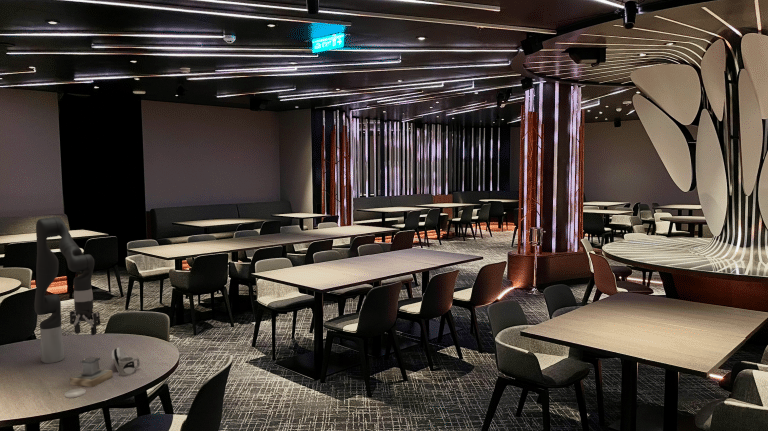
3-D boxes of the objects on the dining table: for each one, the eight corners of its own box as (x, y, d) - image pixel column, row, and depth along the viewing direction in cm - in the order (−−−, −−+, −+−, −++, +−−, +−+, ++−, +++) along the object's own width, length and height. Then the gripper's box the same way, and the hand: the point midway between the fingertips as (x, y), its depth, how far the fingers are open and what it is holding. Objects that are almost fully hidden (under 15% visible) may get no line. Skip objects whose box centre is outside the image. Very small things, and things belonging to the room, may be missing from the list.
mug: (124, 376, 260) (123, 362, 259) (116, 374, 263) (115, 360, 262) (144, 369, 268) (143, 356, 267) (135, 367, 271) (134, 354, 271)
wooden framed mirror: (70, 384, 251) (70, 377, 251) (90, 374, 263) (90, 368, 262) (93, 387, 248) (92, 380, 248) (112, 376, 260) (112, 370, 259)
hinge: (129, 370, 267) (120, 352, 265) (119, 375, 266) (110, 357, 264) (130, 359, 283) (122, 342, 281) (121, 363, 281) (112, 346, 279)
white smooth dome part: (60, 398, 238) (59, 395, 238) (74, 390, 246) (74, 387, 246) (76, 399, 236) (75, 396, 236) (90, 391, 244) (90, 389, 244)
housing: (81, 375, 253) (80, 359, 252) (90, 371, 259) (89, 355, 258) (91, 376, 252) (90, 360, 251) (101, 372, 257) (100, 356, 256)
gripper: (63, 300, 252) (66, 335, 254) (90, 302, 248) (92, 337, 250) (76, 296, 259) (79, 330, 261) (103, 297, 256) (105, 332, 257)
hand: (85, 334), depth 256 cm, fingers open, 8 cm apart
